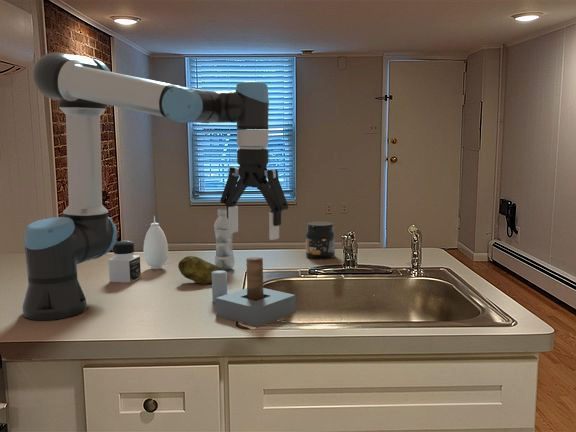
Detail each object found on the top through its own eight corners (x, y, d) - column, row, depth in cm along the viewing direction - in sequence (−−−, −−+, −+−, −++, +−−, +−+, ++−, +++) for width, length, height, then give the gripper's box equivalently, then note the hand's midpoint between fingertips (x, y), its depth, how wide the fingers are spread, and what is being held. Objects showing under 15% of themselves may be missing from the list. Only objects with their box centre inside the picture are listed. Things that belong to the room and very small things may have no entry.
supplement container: (299, 256, 210) (299, 223, 209) (320, 252, 217) (319, 220, 216) (320, 261, 203) (320, 227, 201) (341, 256, 210) (341, 223, 208)
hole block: (257, 327, 135) (257, 308, 135) (216, 315, 144) (215, 297, 144) (295, 312, 146) (295, 294, 145) (254, 302, 155) (254, 285, 154)
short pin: (219, 304, 153) (218, 274, 152) (209, 301, 156) (208, 272, 155) (230, 301, 156) (229, 271, 155) (220, 298, 159) (219, 269, 158)
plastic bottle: (218, 272, 187) (216, 211, 185) (212, 268, 194) (210, 208, 191) (237, 270, 190) (236, 210, 187) (231, 266, 196) (229, 207, 193)
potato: (215, 287, 170) (214, 260, 169) (175, 284, 174) (174, 258, 173) (226, 280, 178) (225, 254, 177) (187, 277, 182) (186, 252, 181)
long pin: (256, 317, 142) (254, 261, 140) (244, 314, 145) (243, 259, 143) (267, 313, 145) (266, 258, 143) (255, 310, 148) (254, 256, 146)
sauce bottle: (160, 272, 189) (158, 217, 186) (140, 270, 192) (137, 216, 189) (173, 267, 196) (170, 214, 194) (152, 265, 199) (150, 213, 196)
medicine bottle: (130, 283, 176) (128, 244, 174) (109, 282, 177) (106, 243, 176) (141, 277, 183) (139, 239, 181) (120, 276, 184) (118, 239, 182)
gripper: (303, 149, 134) (302, 239, 137) (227, 146, 150) (228, 227, 153) (282, 149, 128) (282, 244, 132) (205, 147, 144) (206, 231, 147)
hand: (253, 235), depth 142 cm, fingers open, 13 cm apart
